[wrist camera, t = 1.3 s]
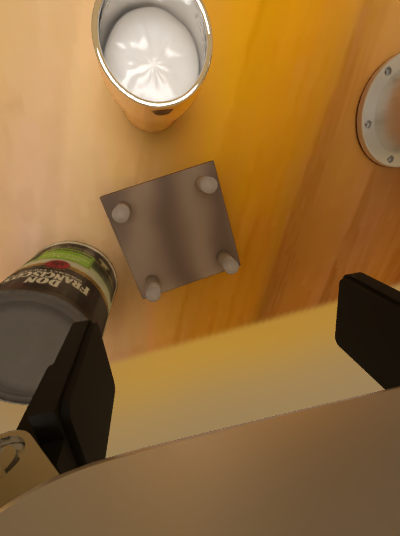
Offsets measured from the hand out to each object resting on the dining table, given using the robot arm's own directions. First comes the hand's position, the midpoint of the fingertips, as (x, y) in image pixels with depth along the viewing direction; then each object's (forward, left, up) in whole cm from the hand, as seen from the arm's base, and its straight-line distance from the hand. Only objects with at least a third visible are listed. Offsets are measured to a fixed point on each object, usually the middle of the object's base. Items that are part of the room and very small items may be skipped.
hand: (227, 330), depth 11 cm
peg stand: (0, +2, -25) cm, 25 cm away
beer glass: (-2, -12, -25) cm, 28 cm away
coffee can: (+14, +4, -25) cm, 29 cm away
